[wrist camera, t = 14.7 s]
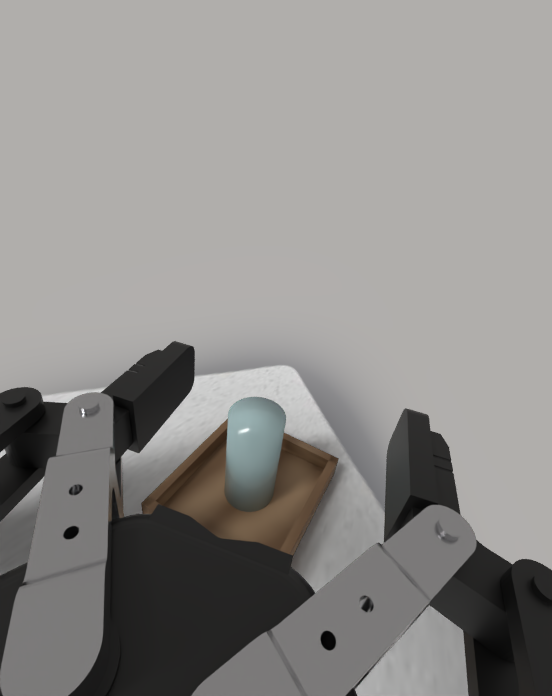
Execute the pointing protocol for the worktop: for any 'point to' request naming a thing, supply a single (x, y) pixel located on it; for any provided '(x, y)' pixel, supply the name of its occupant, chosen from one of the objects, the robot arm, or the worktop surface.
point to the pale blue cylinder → (253, 452)
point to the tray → (230, 523)
